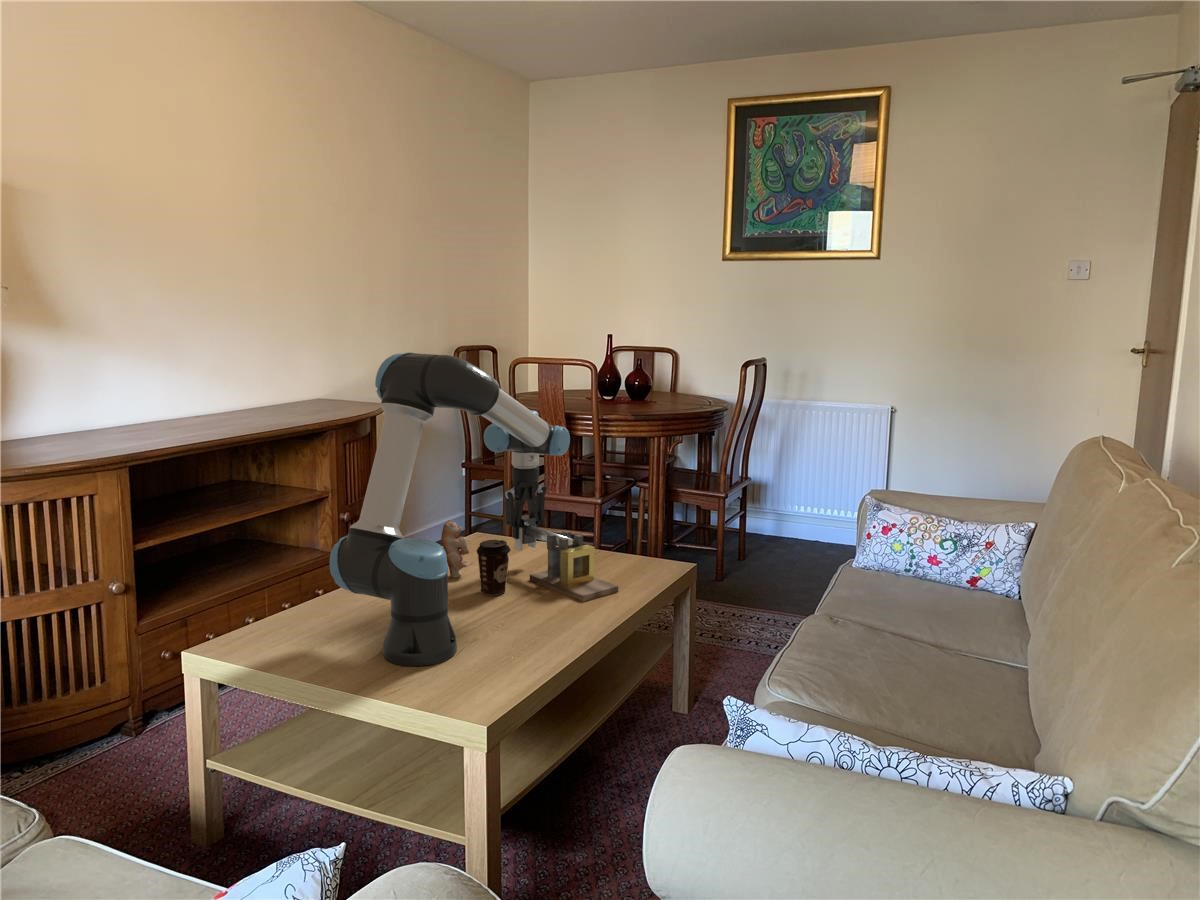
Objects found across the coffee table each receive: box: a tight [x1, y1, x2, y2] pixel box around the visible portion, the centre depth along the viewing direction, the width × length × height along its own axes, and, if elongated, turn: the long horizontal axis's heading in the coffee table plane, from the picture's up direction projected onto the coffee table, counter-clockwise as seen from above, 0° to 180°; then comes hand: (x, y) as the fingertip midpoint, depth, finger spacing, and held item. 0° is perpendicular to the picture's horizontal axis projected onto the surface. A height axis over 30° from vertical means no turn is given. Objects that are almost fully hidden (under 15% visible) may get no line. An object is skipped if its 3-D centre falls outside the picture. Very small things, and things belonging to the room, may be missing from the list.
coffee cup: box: [476, 539, 511, 597], centre depth 215 cm, size 9×8×13 cm
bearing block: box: [529, 530, 619, 603], centre depth 221 cm, size 12×22×13 cm, turn 42°
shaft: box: [520, 514, 576, 549], centre depth 229 cm, size 4×22×7 cm, turn 42°
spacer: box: [561, 544, 596, 587], centre depth 220 cm, size 9×3×9 cm, turn 132°
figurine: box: [441, 519, 470, 579], centre depth 228 cm, size 6×8×15 cm
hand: (525, 547), depth 236 cm, fingers closed on shaft, 4 cm apart
